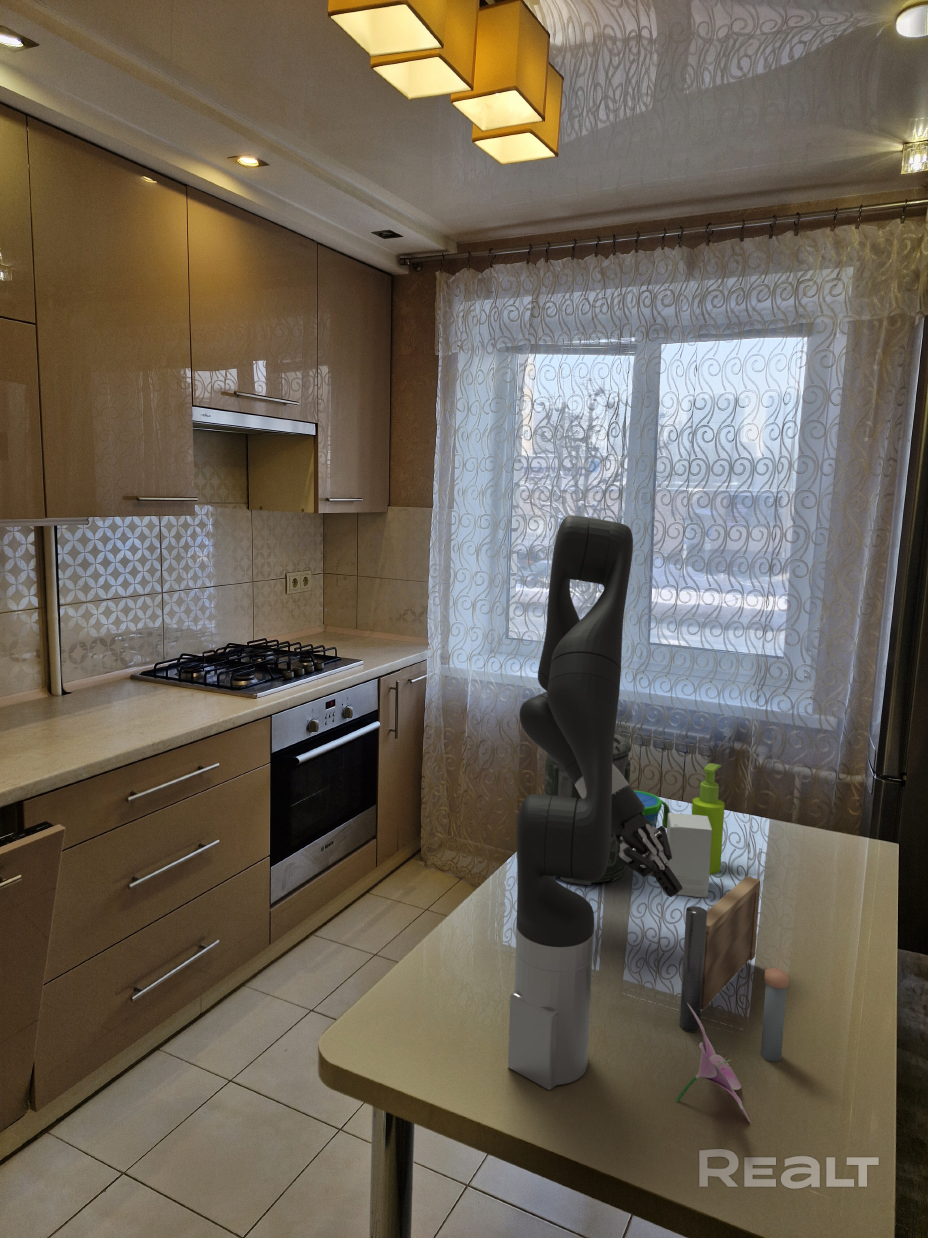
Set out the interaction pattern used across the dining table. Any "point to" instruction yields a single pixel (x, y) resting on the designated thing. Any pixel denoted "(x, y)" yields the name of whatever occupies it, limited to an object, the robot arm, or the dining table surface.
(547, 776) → the canister
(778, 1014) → the stop post
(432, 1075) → the dining table surface
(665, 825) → the snack cup
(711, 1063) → the lily
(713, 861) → the soap dispenser
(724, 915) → the gate
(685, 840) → the supplement box
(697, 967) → the gatepost
